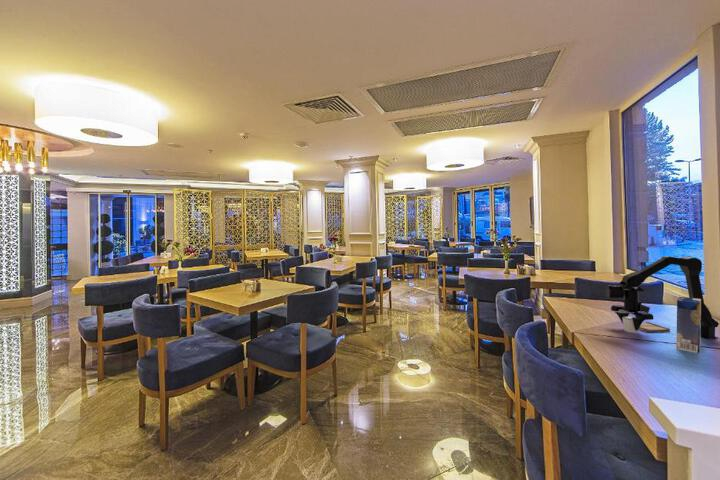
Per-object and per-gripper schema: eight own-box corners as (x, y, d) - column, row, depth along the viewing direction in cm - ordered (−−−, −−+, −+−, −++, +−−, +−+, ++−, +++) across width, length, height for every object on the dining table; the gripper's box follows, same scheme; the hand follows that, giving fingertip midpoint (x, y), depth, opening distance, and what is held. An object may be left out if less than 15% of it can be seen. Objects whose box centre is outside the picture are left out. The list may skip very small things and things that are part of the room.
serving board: (669, 331, 157) (669, 328, 157) (647, 332, 157) (647, 329, 157) (647, 324, 169) (647, 321, 169) (626, 325, 169) (626, 322, 169)
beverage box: (700, 346, 138) (701, 298, 137) (699, 353, 131) (700, 303, 130) (678, 342, 143) (679, 296, 142) (676, 348, 136) (677, 300, 135)
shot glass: (643, 333, 156) (643, 320, 156) (627, 333, 157) (627, 319, 157) (633, 329, 162) (634, 316, 162) (619, 328, 164) (619, 315, 164)
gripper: (664, 302, 150) (663, 333, 151) (629, 294, 169) (629, 322, 169) (642, 303, 150) (642, 334, 150) (610, 295, 168) (610, 323, 169)
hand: (630, 328), depth 160 cm, fingers closed on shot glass, 6 cm apart
